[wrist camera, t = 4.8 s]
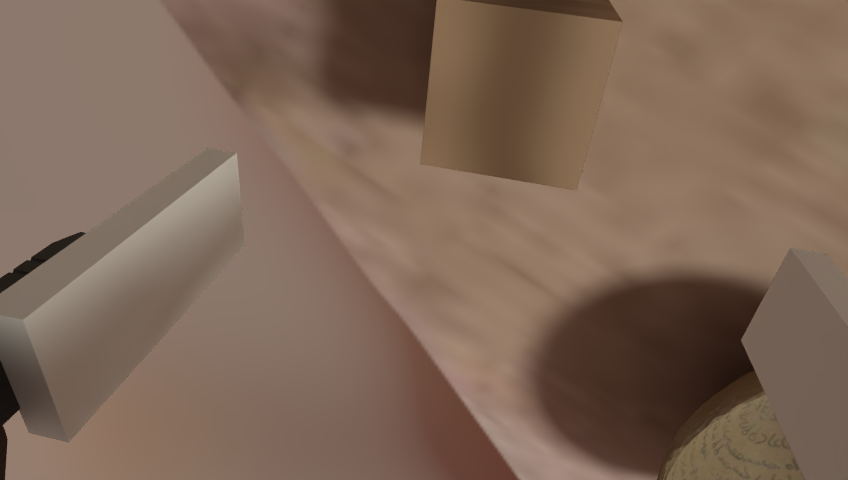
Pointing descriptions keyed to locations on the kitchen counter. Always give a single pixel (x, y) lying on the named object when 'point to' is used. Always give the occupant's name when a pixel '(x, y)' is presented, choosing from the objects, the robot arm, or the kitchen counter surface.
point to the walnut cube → (517, 86)
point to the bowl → (732, 439)
